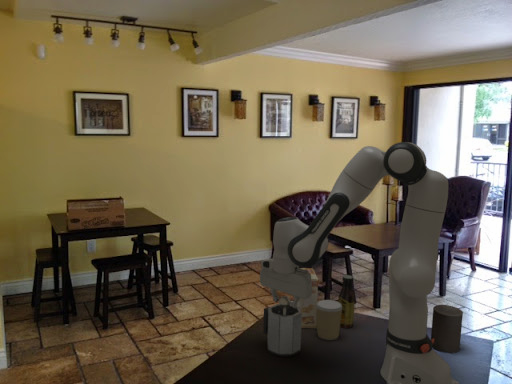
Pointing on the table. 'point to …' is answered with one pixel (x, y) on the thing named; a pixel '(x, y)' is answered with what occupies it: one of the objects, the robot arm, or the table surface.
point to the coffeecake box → (309, 303)
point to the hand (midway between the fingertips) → (284, 304)
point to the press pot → (283, 330)
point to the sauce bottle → (347, 302)
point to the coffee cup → (328, 319)
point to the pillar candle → (446, 328)
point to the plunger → (284, 303)
